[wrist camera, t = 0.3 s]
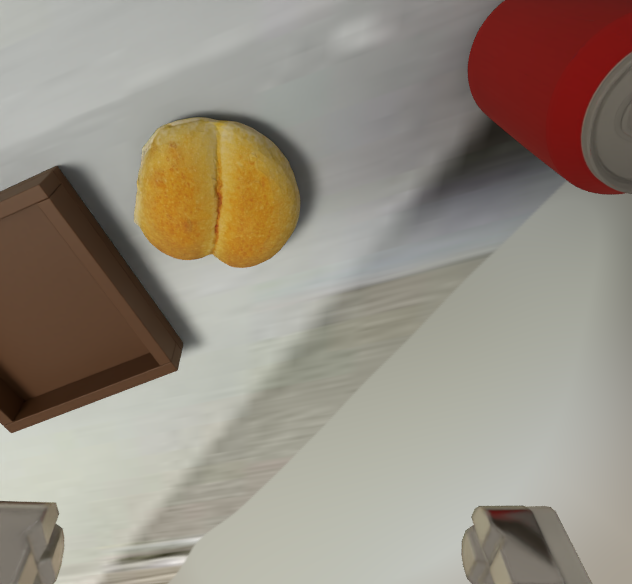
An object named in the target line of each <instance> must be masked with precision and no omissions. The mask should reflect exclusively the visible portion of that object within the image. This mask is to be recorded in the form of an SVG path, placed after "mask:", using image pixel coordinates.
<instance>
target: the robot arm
mask: <svg viewBox="0 0 632 584" xmlns="http://www.w3.org/2000/svg"><path fill="white" fill-rule="evenodd" d="M58 515H59V512H58V508H57V505H56V503H54V502H13V501H0V584H53V583H54V582H55V581H56V579H57V576H58V573H59V570H60V567H61V563H62V557H63V551H64V534H63V529H62V528H61V527H60V526H58V525H57V524H56V520H57V518H58ZM472 520H473V523H474V525H473V526H471V527H470V528H468V529H467V530H466V531H465V534H464V537H463V539H462V561H463V567H464V570H465V573H466V577H467V579H468V580H469V581H470V582H471V583H472V584H592V582H591V580H590V578H589V576H588V574H587V572H586V570H585V568H584V566H583V565H582V563H581V561H580V559H579V557H578V555H577V553H576V551H575V549H574V547H573V545H572V543H571V541H570V539H569V537H568V535H567V533H566V531H565V529H564V527H563V525H562V523H561V521H560V519H559V517H558V515H557V514H556V512H555V511H554V510H553V509H552V508H551V507H546V506H535V507H525V506H479V507H477V508H476V509H475V510H474V512H473V514H472Z"/></svg>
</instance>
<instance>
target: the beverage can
mask: <svg viewBox="0 0 632 584" xmlns="http://www.w3.org/2000/svg"><path fill="white" fill-rule="evenodd" d="M468 81H469V86H470V90H471V93H472V96H473V98H474V100H475V102H476V104H477V105H478V107H479V108H480V109H481V110H482V111H483V112H484V113H485V114H486V115H487V116H488V117H489V118H490V119H492V120H493V121H494V122H495V123H496V124H497V125H498V126H500V127H501V128H502V129H503V130H504V131H506V132H507V133H508V134H509V135H510V136H512V137H513V138H514V139H515V140H516V141H518V142H519V143H520V144H521V145H523V146H524V147H525V148H526V149H528V150H529V151H530V152H531V153H533V154H534V155H535V156H536V157H538V158H539V159H540V160H541V161H543V162H544V163H545V164H547V165H548V166H549V167H550V168H552V169H553V170H554V171H556V172H557V173H558V174H559V175H561V176H562V177H563V178H565V179H566V180H567V181H569V182H570V183H571V184H573V185H575V186H576V187H578V188H581V189H583V190H586V191H588V192H593V193H598V194H623V193H629V194H632V0H505V1H504V2H502V3H501V4H500V5H499V6H498V7H497V8H496V9H495V10H494V11H493V12H492V13H491V14H490V15H489V16H488V17H487V19H486V20H485V21H484V23H483V24H482V26H481V28H480V29H479V31H478V33H477V35H476V37H475V39H474V42H473V45H472V48H471V51H470V55H469V61H468Z"/></svg>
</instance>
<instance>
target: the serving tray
mask: <svg viewBox="0 0 632 584" xmlns="http://www.w3.org/2000/svg"><path fill="white" fill-rule="evenodd" d="M182 348H183V342H182V341H181V339H180V338H179V336H178V335H177V334H176V332H175V331H174V329H173V328H172V327H171V325H170V324H169V322H168V321H167V320H166V318H165V317H164V315H163V314H162V313H161V311H160V310H159V308H158V307H157V305H156V304H155V303H154V301H153V300H152V298H151V297H150V296H149V294H148V293H147V291H146V290H145V289H144V287H143V286H142V284H141V283H140V282H139V280H138V279H137V277H136V276H135V274H134V273H133V272H132V270H131V269H130V267H129V266H128V265H127V263H126V262H125V260H124V259H123V258H122V256H121V255H120V253H119V252H118V251H117V249H116V248H115V246H114V245H113V244H112V242H111V241H110V239H109V238H108V236H107V235H106V234H105V232H104V231H103V229H102V228H101V227H100V225H99V224H98V222H97V221H96V220H95V218H94V217H93V215H92V214H91V213H90V211H89V210H88V208H87V207H86V205H85V204H84V203H83V201H82V200H81V198H80V197H79V196H78V194H77V193H76V191H75V190H74V189H73V187H72V186H71V184H70V183H69V182H68V180H67V179H66V177H65V176H64V175H63V173H62V172H61V170H60V169H59V167H58V166H55V167H53V168H51V169H48V170H46V171H44V172H42V173H40V174H38V175H35V176H33V177H31V178H29V179H27V180H25V181H22V182H20V183H18V184H16V185H14V186H12V187H9V188H7V189H5V190H3V191H1V192H0V423H1V424H2V425H4V427H5V428H6V429H7V430H8V431H9V432H11V433H14V432H16V431H19V430H21V429H24V428H27V427H29V426H32V425H35V424H37V423H40V422H43V421H45V420H48V419H51V418H53V417H56V416H58V415H61V414H64V413H66V412H69V411H72V410H74V409H77V408H80V407H82V406H85V405H88V404H90V403H93V402H95V401H98V400H101V399H103V398H106V397H109V396H111V395H114V394H117V393H119V392H122V391H125V390H127V389H130V388H132V387H135V386H138V385H140V384H143V383H146V382H148V381H151V380H154V379H156V378H159V377H162V376H164V375H167V374H169V373H172V372H175V371H177V370H178V366H179V362H180V357H181V353H182Z"/></svg>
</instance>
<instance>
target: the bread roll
mask: <svg viewBox="0 0 632 584" xmlns="http://www.w3.org/2000/svg"><path fill="white" fill-rule="evenodd" d="M299 212H300V194H299V190H298V186H297V183H296V180H295V176H294V173H293V171H292V169H291V167H290V164H289V162H288V160H287V159H286V157H285V156H284V154H283V153H282V152H281V151H280V150H279V149H278V147H277V146H276V145H275V144H274V143H273V142H272V141H271V140H270V139H268V138H267V137H266V136H264V135H263V134H261V133H259V132H258V131H256V130H255V129H254V128H251V127H249V126H247V125H244V124H241V123H239V122H235V121H224V120H219V121H218V120H215V119H210V118H204V117H194V118H187V119H182V120H177V121H174V122H172V123H169V124H166V125H163V126H161V127H160V128H158V129H157V130H156V131H155V133H154V134H153V135H152V137H151V138H150V139H149V140H148V142H147V143H146V144H145V146H144V147H143V148H142V160H141V167H140V169H139V173H138V180H137V195H136V206H135V213H134V222H135V223H136V224H137V225H138V226H139V227H140V228H141V230H142V231H143V233H144V235H145V236H146V238H147V239H148V240H149V241H150V243H151V244H152V245H154V246H155V247H156V248H157V249H158V250H160V251H161V252H163V253H165V254H167V255H169V256H172V257H174V258H177V259H182V260H192V259H199V258H203V257H205V256H207V255H210V254H213V255H214V256H215V257H217V258H218V259H219V260H221V261H222V262H224V263H226V264H227V265H229V266H232V267H239V268H244V267H251V266H255V265H257V264H260V263H262V262H264V261H266V260H268V259H270V258H272V257H273V256H274V255H275V254H276V253H277V252H278V251H279V250H280V249H281V248H282V247H283V245H284V244H285V243H286V242H287V240H288V239H289V237H290V236H291V234H292V233H293V231H294V229H295V227H296V224H297V221H298V219H299Z"/></svg>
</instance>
